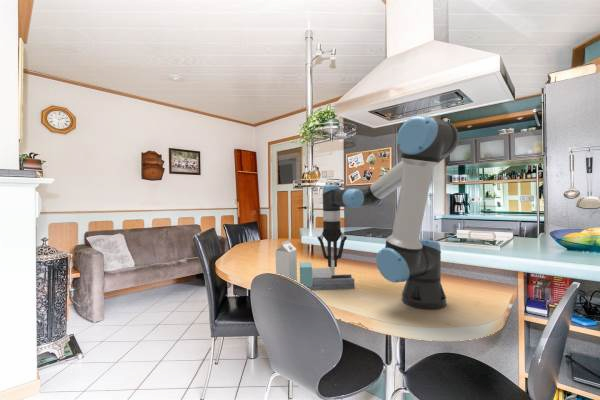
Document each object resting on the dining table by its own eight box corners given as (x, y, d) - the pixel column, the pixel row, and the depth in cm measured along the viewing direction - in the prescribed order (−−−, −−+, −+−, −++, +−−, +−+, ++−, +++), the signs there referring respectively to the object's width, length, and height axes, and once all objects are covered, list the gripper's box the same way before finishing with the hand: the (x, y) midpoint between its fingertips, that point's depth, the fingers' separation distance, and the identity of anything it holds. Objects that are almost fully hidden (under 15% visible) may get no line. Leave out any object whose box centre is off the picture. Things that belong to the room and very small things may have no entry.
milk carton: (276, 283, 135) (275, 242, 135) (284, 279, 142) (283, 239, 141) (289, 285, 132) (288, 243, 132) (297, 281, 138) (296, 240, 138)
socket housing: (312, 286, 126) (312, 267, 125) (300, 286, 125) (300, 267, 125) (311, 280, 135) (310, 262, 134) (299, 280, 134) (299, 262, 134)
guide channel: (354, 288, 126) (354, 279, 126) (300, 290, 126) (300, 280, 125) (350, 282, 135) (350, 273, 135) (300, 283, 135) (299, 275, 134)
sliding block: (331, 284, 128) (331, 269, 128) (303, 284, 128) (303, 270, 128) (330, 281, 132) (330, 267, 132) (303, 281, 132) (303, 267, 132)
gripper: (345, 219, 134) (345, 271, 134) (316, 220, 133) (317, 272, 134) (348, 220, 126) (349, 276, 127) (317, 221, 126) (318, 277, 126)
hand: (332, 274), depth 130 cm, fingers closed
